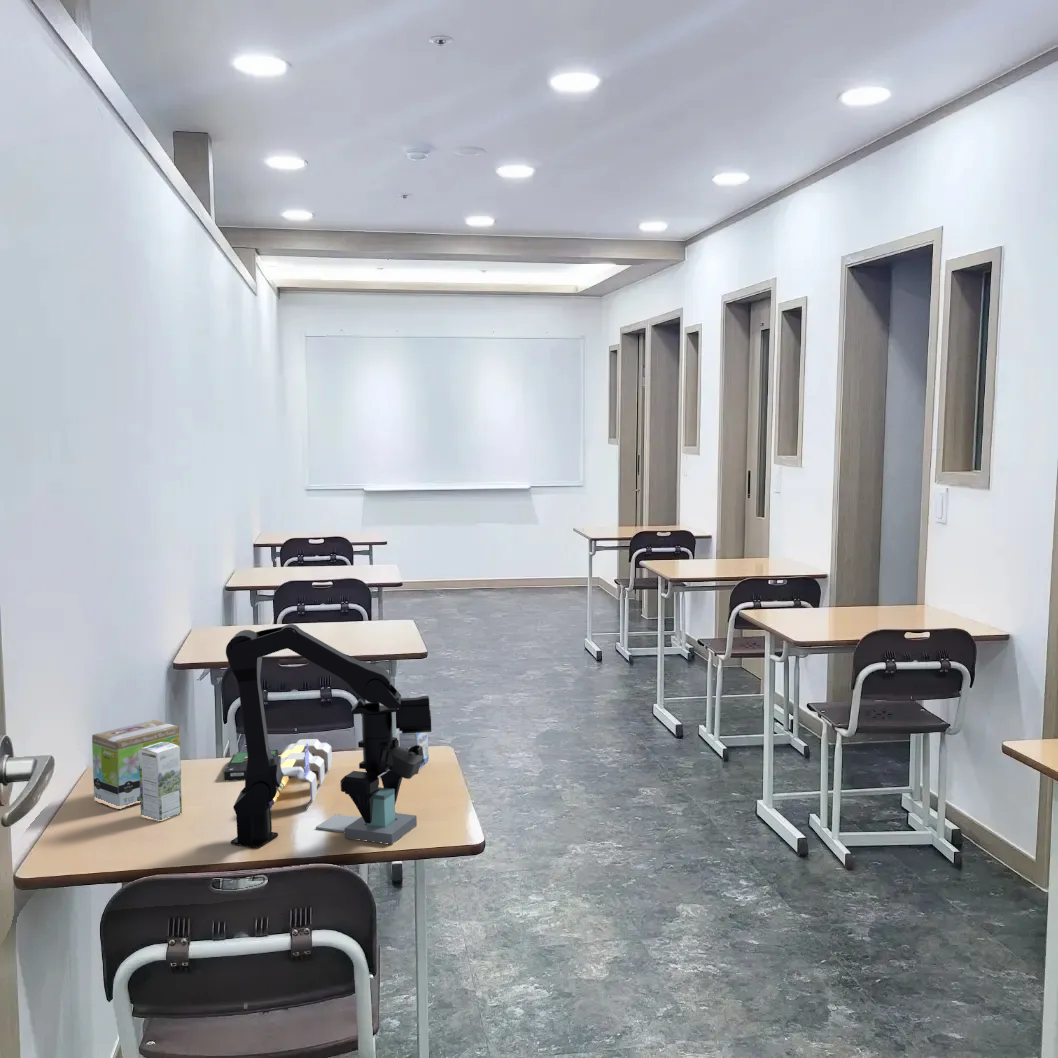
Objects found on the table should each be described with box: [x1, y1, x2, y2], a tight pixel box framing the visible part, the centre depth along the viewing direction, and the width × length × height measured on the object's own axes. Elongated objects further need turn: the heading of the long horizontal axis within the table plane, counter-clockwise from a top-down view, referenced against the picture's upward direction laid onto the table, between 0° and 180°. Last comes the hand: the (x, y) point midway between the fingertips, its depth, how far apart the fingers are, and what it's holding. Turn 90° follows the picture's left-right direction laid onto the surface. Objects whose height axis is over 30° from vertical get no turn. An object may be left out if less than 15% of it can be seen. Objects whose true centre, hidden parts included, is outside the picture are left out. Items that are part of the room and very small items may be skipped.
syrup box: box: [138, 742, 183, 820], centre depth 206 cm, size 6×6×14 cm
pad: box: [315, 814, 361, 833], centre depth 200 cm, size 7×7×1 cm
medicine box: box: [398, 731, 430, 768], centre depth 236 cm, size 8×4×9 cm, turn 168°
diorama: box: [269, 738, 333, 810], centre depth 221 cm, size 25×10×13 cm, turn 2°
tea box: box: [91, 719, 182, 806], centre depth 219 cm, size 15×10×15 cm, turn 143°
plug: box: [367, 786, 396, 828], centre depth 195 cm, size 4×4×8 cm
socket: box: [344, 812, 418, 845], centre depth 196 cm, size 10×10×2 cm
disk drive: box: [223, 749, 279, 782], centre depth 236 cm, size 10×3×15 cm
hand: (380, 814), depth 195 cm, fingers open, 9 cm apart
